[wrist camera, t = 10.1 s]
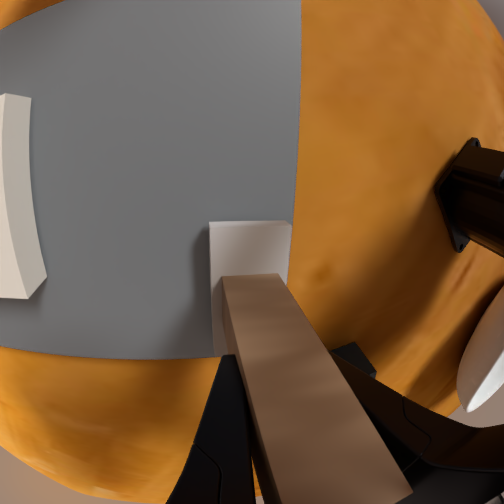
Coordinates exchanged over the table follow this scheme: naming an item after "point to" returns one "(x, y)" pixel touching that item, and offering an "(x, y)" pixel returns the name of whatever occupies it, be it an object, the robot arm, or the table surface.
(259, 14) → the board
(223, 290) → the white-capped wooden bar
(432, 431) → the robot arm
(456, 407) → the table surface
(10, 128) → the tile
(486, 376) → the serving bowl
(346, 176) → the table surface
